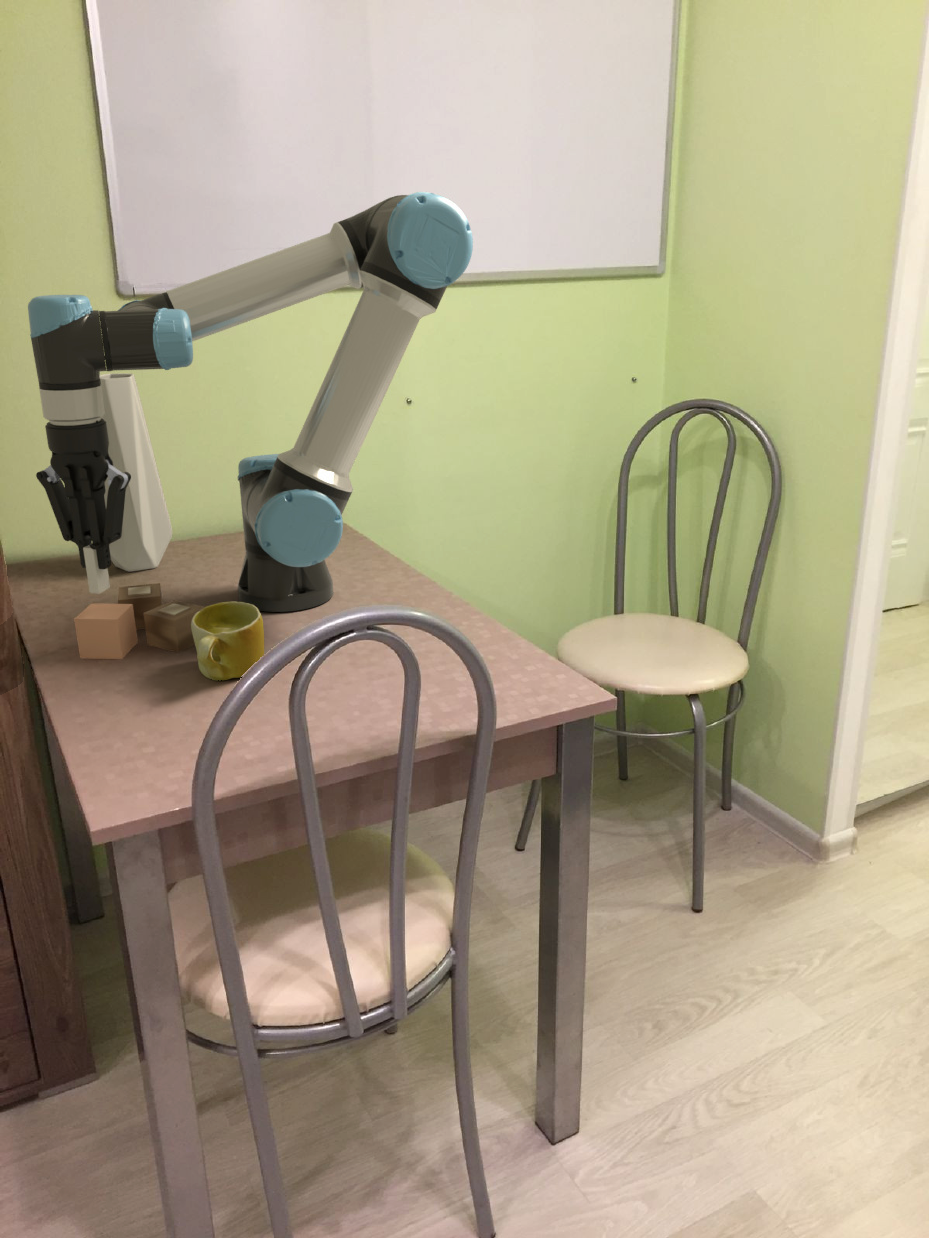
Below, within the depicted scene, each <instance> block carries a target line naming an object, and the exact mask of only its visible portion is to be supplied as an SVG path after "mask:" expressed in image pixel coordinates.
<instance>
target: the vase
mask: <svg viewBox="0 0 929 1238" xmlns="http://www.w3.org/2000/svg"><path fill="white" fill-rule="evenodd" d="M135 377H136V376H135V374H134V373H120V372H117V373H114V372H113V373H104V374H100V380H101V389H102V396H103V404H104V411H105V414H104V415H103V416H102V417H100V418H102V419H104V421H106V424H107V432H108V439H109V447H108V454H109V456H110V458H111V459H112V461H113V467H115V468H116V469H118V470H119V471H120V472H122V473H125V472H128V473H129V474H130V475H131V480H130V482H129V484H128V486H127V488H126V493H125V503H124V514H123V525H122V536H121V538H120V539H118V540H116V541H114V542H113V543H111V544H109V549H110V556H111V563H113V565H114V566H115V567H116V568H118V569H121V570H123V571H125V572H130V573H132V572H138V571H145V570H151V569H156V568H158V567H159V566H160V563H161V561H162V559H163V557H164V555H165V552H166V550H167V548H168V546H169V543H170V542H171V539H172V536H173V528H172V523H171V518H170V515H169V509H168V505H167V502H166V498H165V495H164V489H163V485H162V482H161V478H160V473H159V469H158V465H157V462H156V457H155V453H154V448H153V444H152V441H151V437H150V433H149V428H148V424H147V420H146V417H145V416H146V415H145V413H144V412H145V411H144V408H143V404H142V400H141V396H140V391H139V388H138V385H137V384H138V383H137V380H136V378H135ZM108 479H109V477H107V479H106V481H105V490H106V492H105V494H104V498H105V505H106V506H107V494H108V489H109V486H110V485H108V483H107V482H108Z"/></svg>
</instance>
